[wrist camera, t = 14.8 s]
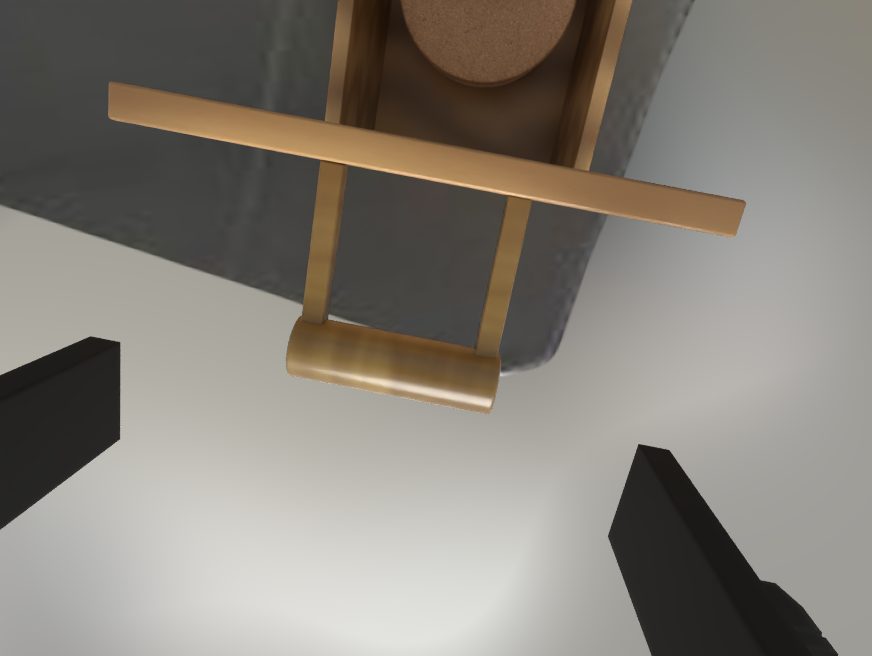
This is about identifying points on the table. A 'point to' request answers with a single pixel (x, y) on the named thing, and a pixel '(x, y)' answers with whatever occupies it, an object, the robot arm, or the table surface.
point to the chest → (472, 106)
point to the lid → (346, 145)
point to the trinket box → (486, 36)
